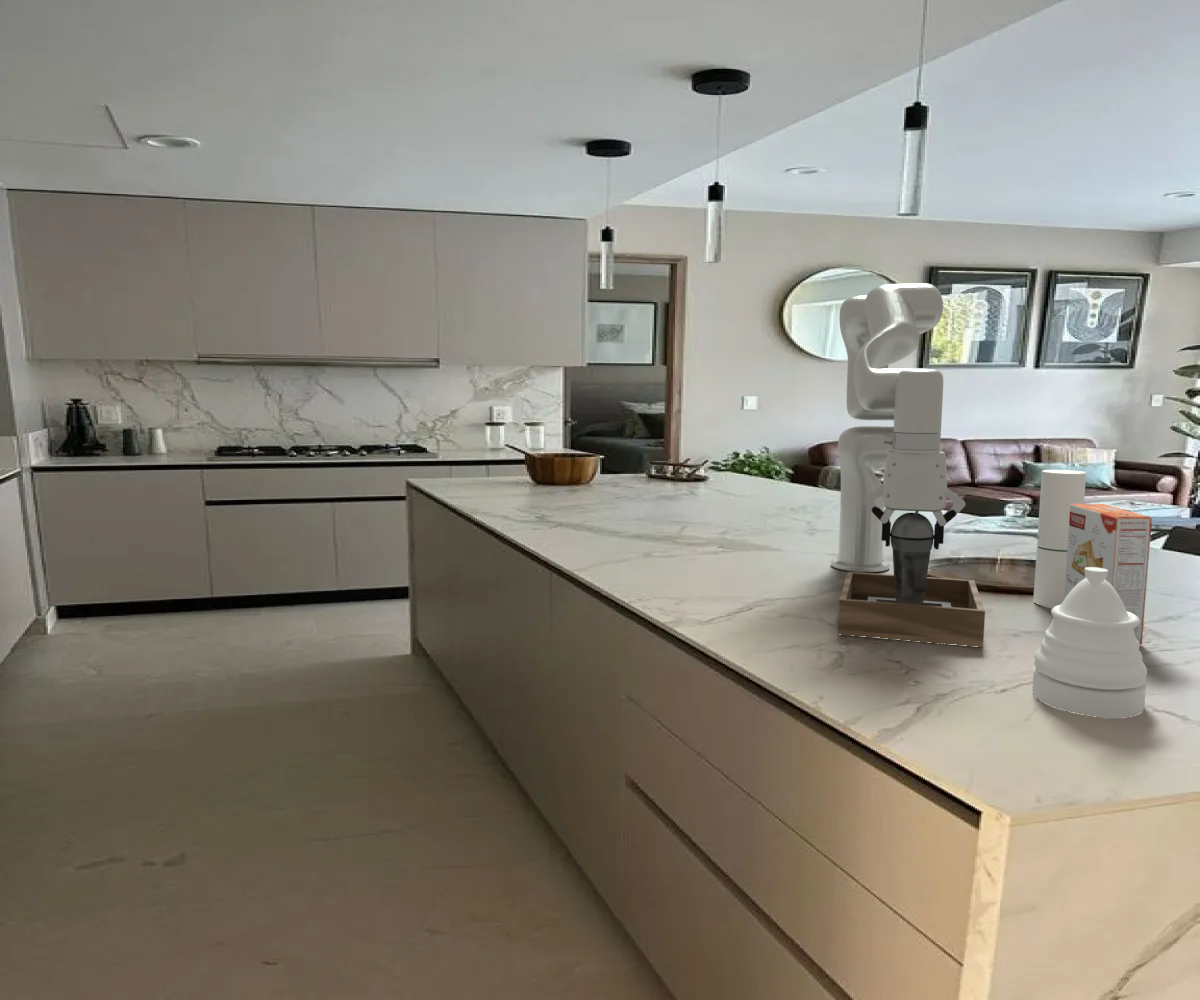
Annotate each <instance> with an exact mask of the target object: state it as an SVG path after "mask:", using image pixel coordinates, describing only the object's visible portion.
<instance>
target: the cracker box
mask: <svg viewBox="0 0 1200 1000" xmlns="http://www.w3.org/2000/svg"><path fill="white" fill-rule="evenodd" d="M1152 520H1153V518H1152V517H1151V516H1147V515H1144V514H1141V513H1137V512H1134V511H1129V510H1126V509H1123V508H1119V507H1116V506H1111V505H1109V504H1104V503H1085V502H1084V503H1081V504H1071V505H1070V518H1069V534H1068V550H1067V565H1066V580H1065V595H1064V599H1065V598H1066V597H1067V595H1068V594H1069V593H1070V591H1071V590H1072V589H1073V588H1074V587H1075V586H1076V585H1077V584H1078V583H1079V582H1080V581H1082V580H1083V579H1085V578H1086V576H1085V568H1086V567H1097V568H1103V569H1107V570H1108V573H1107V576H1106V578H1105V580H1107V581H1108V582H1109V583H1110V584H1111V585H1112V586H1113V588H1114V589H1115V590H1116V592H1117V594H1118V595H1119V597H1120V599H1121V601H1122V602H1123V605H1124V607H1125V609H1126V611H1128V612H1131V613H1133V614H1134V615H1136V616H1138V618H1139V620H1140V624H1139V625H1138V626H1137V627H1135V628H1133V630H1134V633H1135V636H1136V639H1137V640H1138V642H1139V644H1140V646H1141V645H1142V644H1143V634H1144V633H1143V632H1144V620H1145V612H1146V611H1145V610H1146V609H1145V608H1146V599H1147V597H1146V596H1147V585H1148V570H1149V560H1150V548H1151V535H1152V524H1153V521H1152Z"/></svg>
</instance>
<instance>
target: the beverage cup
mask: <svg viewBox="0 0 1200 1000" xmlns="http://www.w3.org/2000/svg"><path fill="white" fill-rule="evenodd" d="M919 512H920V511H914V512H905V513H903V514H901V515H900V516H898V517H897V518H896V519H895V520H894V521H893V524H892V525H891V531H890V546H891V548H892V561H893V564H892V565H893V575H894V587H895V597H896V602H898V603H904V604H917V605H920V604H923V599H924V595H925V588H926V581H927V577H928V573H929V567H930V566H929V565H930V559H931V558H930V557H931V550H933V549H932V548H933V546H934V527H933V525H932V522H931V521H930V520H929V519H928V517H926V516H925V515H923V514H921V513H919Z"/></svg>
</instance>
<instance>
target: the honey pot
mask: <svg viewBox="0 0 1200 1000" xmlns="http://www.w3.org/2000/svg"><path fill="white" fill-rule="evenodd" d="M1107 573H1108V570H1107V569H1103V568H1097V567H1086V568H1085V576H1086V578H1085V579H1083V580H1082V581H1080V582H1079V583H1078V584H1077V585H1076V586H1075V587H1074V588H1073V589H1072V590H1071V591H1070V593H1069V594H1068V595H1067V597H1066V598H1065V599H1064V601H1063V602H1062V604H1061V605H1058V606H1055V607H1054V608H1051V610H1050V612H1051V616H1052V617H1053V619H1052V620H1051V623H1050V624H1049V626H1048V628H1047V629H1046V630H1045V631H1044V637H1043V639H1042V640H1041V641H1040V642H1041V643H1040V647H1039V648H1038V650H1036V652H1035V654H1034V662H1033V665H1034V667H1033V672H1032V673H1033V674H1032V675H1033V676H1032V688H1031V691H1033V693H1032V695H1033V694H1034V695H1035V696H1036V697H1037V698H1038V699H1040V700H1041V701H1043V702H1045V703H1047V704H1049V705H1051V706H1054V707H1056V708H1060V709H1063V710H1066V711H1070V712H1075V713H1079V714H1084V715H1090V716H1096V717H1104V718H1103V719H1108V718H1121V717H1130V716H1135V715H1137V714H1139V713H1141V712H1142V711H1143V712H1144V710H1145V703H1146V690H1147V684H1146V682H1147V676H1148V670H1147V667H1146V665H1145V664H1144V661H1143V654H1142V653H1141V651H1140V647H1141V645H1140V644H1139V642H1138V640H1137V639H1136V636H1135V633H1134V630H1133V628H1135V627H1137V626H1138V625H1139V624H1140V620H1139V618H1138V616H1136V615H1134V614H1133V613H1131V612H1128V611H1126V609H1125V607H1124V605H1123V602H1122V601H1121V599H1120V597H1119V595H1118V594H1117V592H1116V590H1115V589H1114V588H1113V586H1112V585H1111V584H1110V583H1109V582H1108V581H1107V580H1105V578H1106V576H1107ZM1034 695H1033V696H1034ZM1041 701H1040V702H1041ZM1051 706H1050V707H1051ZM1143 709H1144V710H1143ZM1143 712H1142V713H1143ZM1096 717H1095V718H1096ZM1105 717H1106V718H1105ZM1135 717H1136V716H1135ZM1130 718H1131V717H1130ZM1121 719H1122V718H1121Z"/></svg>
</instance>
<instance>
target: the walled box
mask: <svg viewBox="0 0 1200 1000" xmlns="http://www.w3.org/2000/svg"><path fill="white" fill-rule="evenodd" d="M842 586H843V587H842V590H841V594H840V596H839V600H838V603H839V605H838V627H837V628H838V629H837V630H838V634H841V635H854V636H866V637H880V638H888V639H900V640H910V641H920V642H931V643H943V644H944V643H945V644H957V645H967V646H978V647H983V648H984V636H985V635H984V634H985V619H986V610H985V607H984V605H983V601H982V599H981V596H980V592H979V591H978V587H977V585H976V581H975V580H974V579H965V578H964V579H962V578H949V577H948V578H946V577H931V576H927V581H926V588H925V595H924V599H923V604H920V605H917V604H904V603H898V602H896V597H895V587H894V574H886V573H875V572H854V571H847V572H846V576H845V579H844V582H843V585H842Z"/></svg>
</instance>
